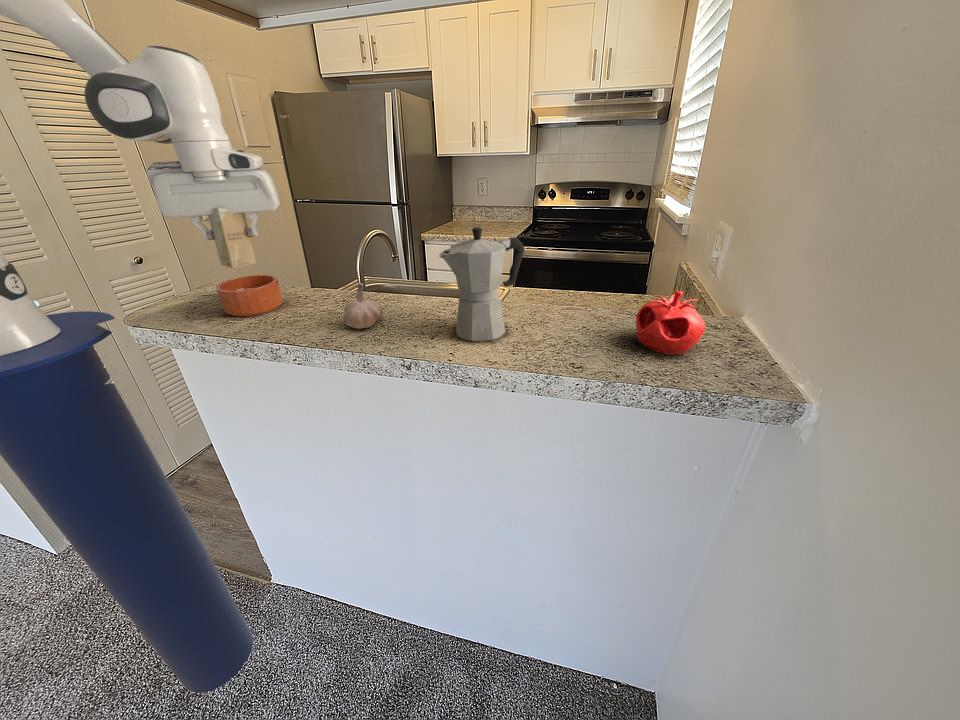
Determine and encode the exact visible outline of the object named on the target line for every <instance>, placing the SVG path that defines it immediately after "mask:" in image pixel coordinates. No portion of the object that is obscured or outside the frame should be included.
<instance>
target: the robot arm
mask: <svg viewBox="0 0 960 720" xmlns="http://www.w3.org/2000/svg"><path fill="white" fill-rule="evenodd" d="M0 15H1V16H3V17H5V18H8V19H9V20H12V21H13V22H15V23H17V24H19V25H21V26H23V27H25V28H27V29H29V30H30V31H32V32H33V33H36V34H37V35H39V36H40V37H42V38H43V39H45V40H47V41H48V42H49V43H50V44H52V45H54V46H55V47H57V48H58V49H59V50H60V51H61V52H62V53H64V54H65V55H66V56H67V57H69V58H70V59H71V60H72V61H73V62H74V63H75V64H76V65H77V66H79V68H81V69H82V70H83V71H84V72H85V73H86V74H88V75H89V76H90V78H88V80H87V82H86V84H85V86H84V101H85V104H86V106H87V109H88V111H89V113H90V115H91V116H92V117H93V119H94V120H95V121H96V123H98V124H99V125H100V127H102V128H103V129H104V130H106V131H107V132H109V133H110V134H111V135H114V136H116V137H119V138H122V139H126V140H130V141H136V142H139V141H140V142H154V143H158V144H162V145H171V144H172V146H173V148H174V151H175V154H176V157H177V160H173V161H164V162H162V161H153V162H152V163H151V164H150V165H148V167H147V168H146V171H145V172H146V177H147V179H148V181H149V183H150V185H151V187H152V188H153V193H154V196H155V201H156V204H157V208H158V210H159V212H160V213H161V215H163V216H164V217H165V218H167V219H175V218H188V217H189V218H190V221H191V223H192V225H194V227H196V228H197V229H198V231H200V232H201V233H202V235H203V239H204V240H205V241H215V240H214V236H213V232H212V229H211V228H208V227H207V226H206V225H205V224H204V222H203V221H204V217H203V216H208V215H213V209H214V208H227V209H228V210H229V212H230V213H232V214H234V213H245V214H246V213H247V215H248V218H249V219H252V221H251V223H250V226H249V225H248V227H247V228H246V230H247V232H248V236H249V237H250V238H253V237H254V238H255V237H259V231H258V228H257V226H258V223H259V220H260V214H259V213H261V212H263V213H264V212H275V211H277V210H278V209H279V208H280V206H281V199H280V196H279V192H278V189H277V187H276V184H275V182H274V180H273V177H272V175H271V174H270V173H269V172H268V171H267V170H266V169H263V167H264V166H265V165H264V160H263V157H262V156H261V155H258V154H256V153H251V152H247V151H245V150H241V149H236V148H233V147H232V143H231V140H230V138H229V136H228V134H227V132H226V130H225V128H224V125H223V114H222V113H223V112H222V110H221V109H222V108H221V105H220V103H219V100H218V99H219V98H218V96H217V93H216V90H215V88H214V84H213V83H212V79H211V77H210V75H209V73H208V71H207V69H206V67H205V65H204V64H203V63H202V62H201V61H200V60H199V59H198V58H197V57H195V56H193V55H192V54H190V53H188V52H185V51H183V50H179V49H176V48H172V47H167V46H161V45H149V46H146V47H144V49H143V50H142V51H141V53H140V54H139V55H138V56H137V57H135V58H134V59H132V60H130V61H128V60H127V59H126V58H125V57H124V56H123V55H122V54H121V53H120V52H119V51H118V50H117V49H116V48H115V47H113V46H112V45H111V44H110V42H108V40H106V39H105V38H104V37H103V36H102V35H101V34H100V33H99V32H98V31H97V30H96V29H95V28H94V27H93V26H91V25H90V23H88V22H87V21H86V20H85V19H84V18H83V17H82V16H81V15H80V14H79V13H78V12H77V11H76V10H75V9H74V8H73V7H71V5H70V4H68V2H67V1H66V0H0ZM3 253H4V252H2V250H1V249H0V356H2V355H6V354H10V353H13V352H17V351H20V350H24V349H27V348H30V347H33V346H35V345H38V344H41V343H43V342H45V341H48V340H50V339H52V338H53V337H55V336H57V335H58V334H59V333H60V332H61V329H60V328H59V327H58V326H56V325H55V324H54V323H53V322H52V321H51V320H50V319H49V318H48V317H47V316H46V315H47V314H46V313H45V312H44V311H43V309H41V308H40V307H39V306H40V304H39V303H38V302H37V301H35V300H34V299H33V298H32V297H31V295H30V294H29V292H28V289H27V287H26V284H25V282H24V280H23V279H22V277H21V275H20V274H19V272H18V271H17V269H16V268H15V266H14V264H13V263H11V262H9V261H8V260H7V258H6V257H5V255H4V254H3Z"/></svg>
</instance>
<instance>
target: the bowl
mask: <svg viewBox="0 0 960 720" xmlns="http://www.w3.org/2000/svg"><path fill="white" fill-rule="evenodd" d="M215 290H216V292H217V295H218V298H219V301H220V304H221V307H222V309H223V313H225V314H227V315H230V316H233V317H252V316H259V315H262V314H266V313H268V312H269V313H270V312H271V311H274V310H276V309H277V308H278V307H280V306H281V304H282V303H283V302H284V297H283V294H282V291H281V287H280V283H279V279H278V278H277V276H275V275H272V274H250V275H244V276H238V277H234V278H230V279H227V280H225V281H222V282H220V283H219V284H217V285H216V286H215Z"/></svg>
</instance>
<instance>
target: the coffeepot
mask: <svg viewBox="0 0 960 720" xmlns="http://www.w3.org/2000/svg"><path fill="white" fill-rule="evenodd" d="M471 230H472V235H473V239H468V240H465V241H462V242H458V243H454V244H451V245H450V248H447V249H443V251H441V252H439V256H438V257H439V258H440V259H443V260H444V261H445V263H446V264H447V265H448V267H449V268H450V270H451V271H452V273H453V274H454V275H455V280H456V284H457V289H458V291H459V297H458V304H457V305H458V306H457V314H456V315H457V316H456V323H455V324H456V325H455V329H456V330H455V331H456V336H457V337H459V338H460V339H462V340H464V341H468V342H476V343H482V342H490V341H493V340H496V339H499V338H501V337H502V336H503V335H504V334H505V333H506V328H505V327H506V326H505V321H504V316H503V315H504V314H503V310H502V305H501V298H500V295H499V288H500V287H501V285H502V284H503V286H504V287H505V288H507V287H510V286H511V287H512V286H514V285H515V282H516V279H517V276H518V273H519V269H520V266H521V262H522V261H523V256H524V254H525V245H524V244H523V243H522V242H521V241H520V239H519V238H518V237H513V236H512V237H508V238H500V239H497V240H496V241H495V240H489V239H484V238H482V233H483V232H482V231H483V228H481V227H477V226H476V227H474V228H471ZM510 250H514V253H513V256H512V264H511V266H510V269H509V278H508V279H507V280H505V281H502V277H503V269H504V264H505V263H504V262H505V256H506V252H508V251H510Z"/></svg>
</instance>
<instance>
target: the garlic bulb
mask: <svg viewBox="0 0 960 720" xmlns="http://www.w3.org/2000/svg"><path fill="white" fill-rule="evenodd" d="M363 291H364V283H363V282H358V283H357V297H355V298H353V299H352V300H350V301H349V302H347V304H346V305H345V308H344V315H343V320H344V322H345V325H347V326H349V327H351V328H354V329H357V330H360V329H365V328H367V329H368V328H370V327H372V326H374V324H375V323H376V322H377V321H379V319H381V317H382V316H383V312H384V309H383V306H382V305H381V304H380V303H379V302H378V301H376V300H372V299H368V298H365V297H364V292H363Z"/></svg>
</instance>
